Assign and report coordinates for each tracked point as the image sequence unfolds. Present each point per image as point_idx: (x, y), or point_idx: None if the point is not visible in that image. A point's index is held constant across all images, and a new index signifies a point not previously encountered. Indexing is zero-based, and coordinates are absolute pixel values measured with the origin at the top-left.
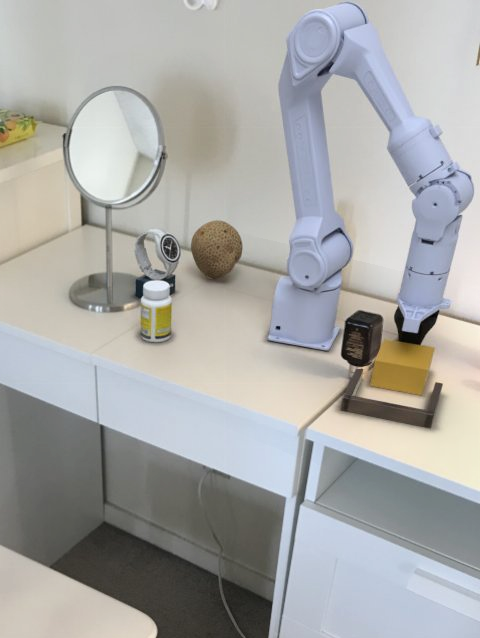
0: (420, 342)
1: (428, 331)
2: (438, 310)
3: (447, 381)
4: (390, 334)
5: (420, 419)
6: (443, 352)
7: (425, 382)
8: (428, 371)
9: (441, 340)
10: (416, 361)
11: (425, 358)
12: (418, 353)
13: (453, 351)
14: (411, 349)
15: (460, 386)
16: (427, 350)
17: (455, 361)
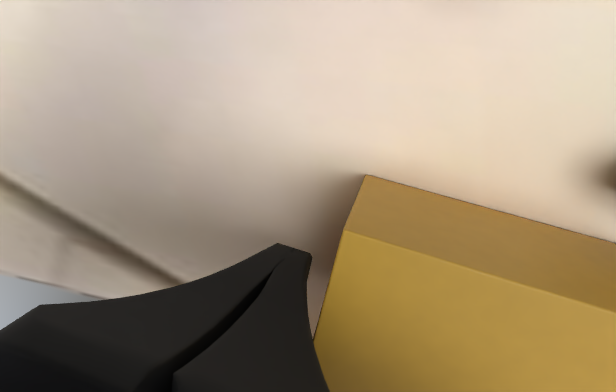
0: (308, 317)
1: (324, 382)
2: (17, 359)
3: (449, 90)
4: (70, 263)
5: None
6: (146, 74)
7: (502, 216)
8: (464, 220)
9: (42, 71)
10: (583, 389)
11: (531, 325)
12: (454, 350)
13: (122, 23)
14: (395, 373)
15: (508, 20)
16: (397, 285)
17: (219, 23)
